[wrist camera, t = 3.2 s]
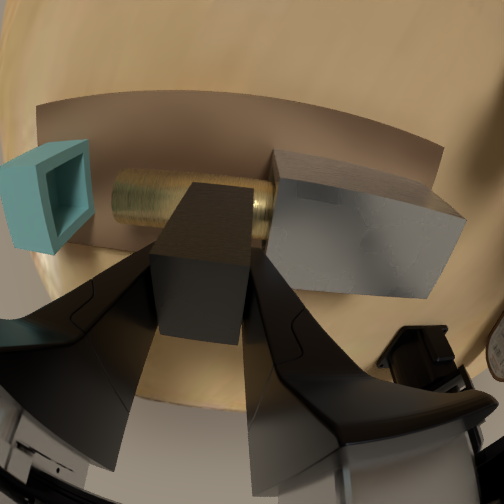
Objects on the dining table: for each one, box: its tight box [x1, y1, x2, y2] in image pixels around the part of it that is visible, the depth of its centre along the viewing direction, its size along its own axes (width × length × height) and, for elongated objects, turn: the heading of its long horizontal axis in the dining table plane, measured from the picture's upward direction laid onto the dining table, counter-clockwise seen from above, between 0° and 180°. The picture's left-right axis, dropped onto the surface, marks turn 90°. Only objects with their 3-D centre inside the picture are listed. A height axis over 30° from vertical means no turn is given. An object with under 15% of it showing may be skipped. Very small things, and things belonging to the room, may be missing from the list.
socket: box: [0, 139, 95, 255], centre depth 12 cm, size 5×4×5 cm
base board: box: [36, 90, 444, 252], centre depth 15 cm, size 10×25×1 cm, turn 83°
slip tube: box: [111, 168, 276, 345], centre depth 10 cm, size 3×15×8 cm, turn 83°
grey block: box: [260, 149, 467, 299], centre depth 13 cm, size 5×9×5 cm, turn 83°
